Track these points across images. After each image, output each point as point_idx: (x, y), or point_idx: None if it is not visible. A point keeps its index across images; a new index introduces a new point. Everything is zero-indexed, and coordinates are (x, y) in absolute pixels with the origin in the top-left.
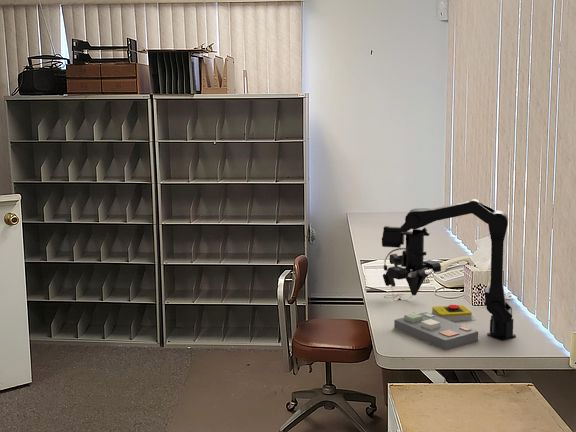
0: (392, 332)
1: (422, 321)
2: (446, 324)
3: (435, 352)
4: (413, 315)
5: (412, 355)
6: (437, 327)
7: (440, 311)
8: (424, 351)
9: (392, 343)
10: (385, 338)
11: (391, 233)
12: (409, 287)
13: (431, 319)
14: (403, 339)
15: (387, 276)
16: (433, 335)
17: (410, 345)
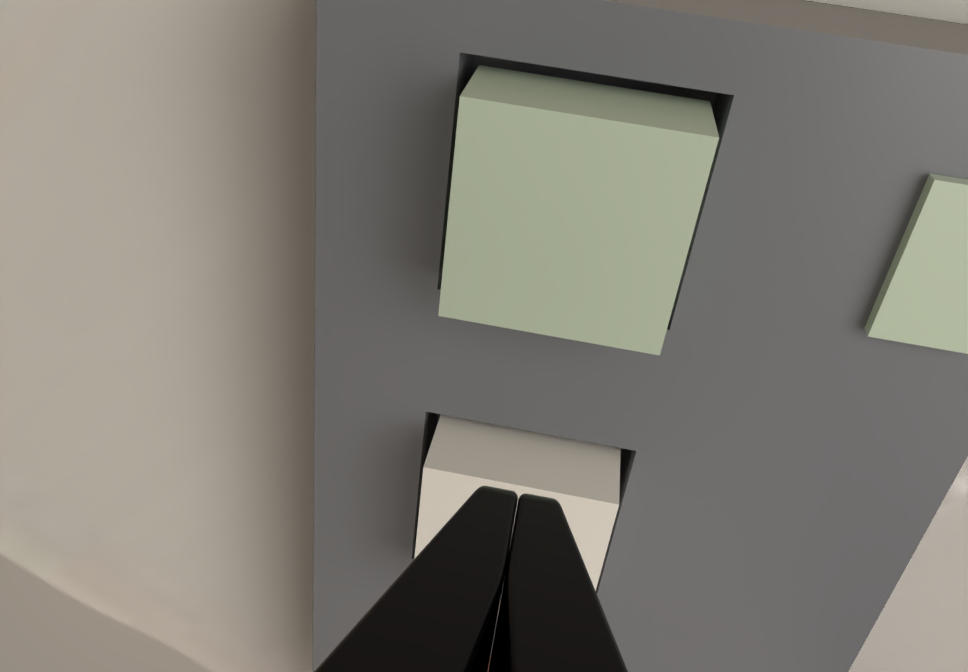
0: (229, 42)
1: (439, 479)
2: (730, 595)
3: (237, 636)
4: (564, 237)
5: (32, 555)
6: None
7: None
8: (173, 577)
9: (16, 289)
10: (21, 133)
11: None
12: (342, 642)
13: (606, 519)
14: (194, 299)
15: None
16: (315, 640)
17: (152, 437)
